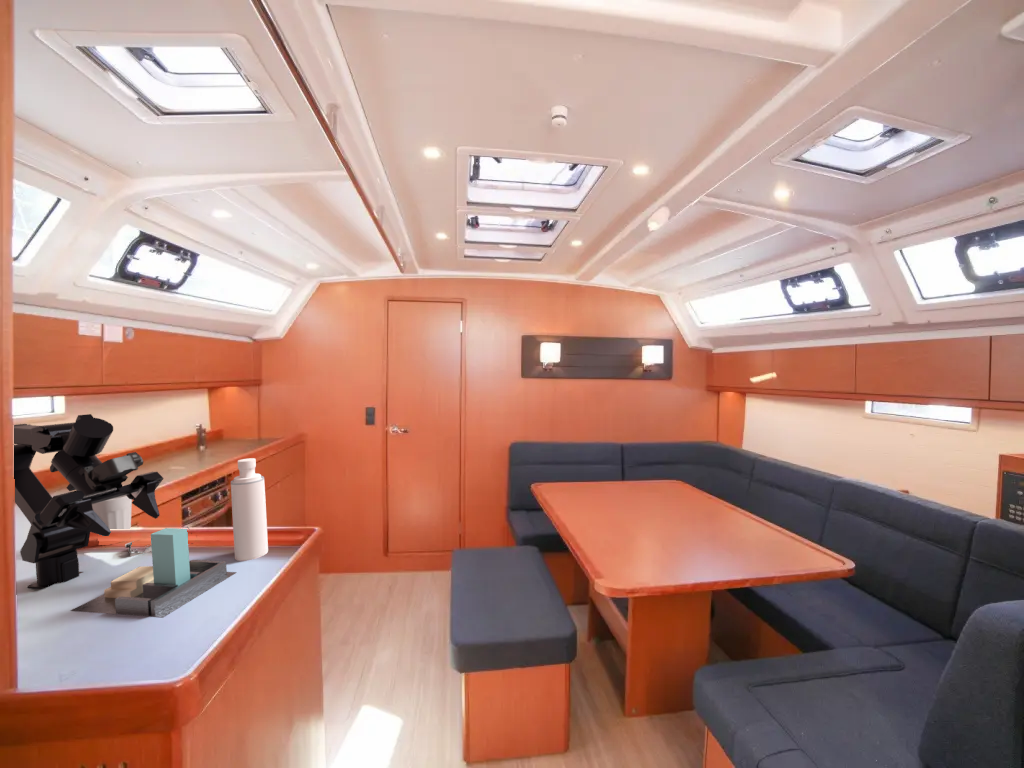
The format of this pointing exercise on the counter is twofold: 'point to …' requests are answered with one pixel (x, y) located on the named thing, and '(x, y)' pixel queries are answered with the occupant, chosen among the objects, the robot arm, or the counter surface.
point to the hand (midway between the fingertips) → (134, 525)
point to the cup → (115, 512)
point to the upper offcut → (133, 578)
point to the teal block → (170, 556)
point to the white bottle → (249, 512)
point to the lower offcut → (124, 592)
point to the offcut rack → (163, 593)
